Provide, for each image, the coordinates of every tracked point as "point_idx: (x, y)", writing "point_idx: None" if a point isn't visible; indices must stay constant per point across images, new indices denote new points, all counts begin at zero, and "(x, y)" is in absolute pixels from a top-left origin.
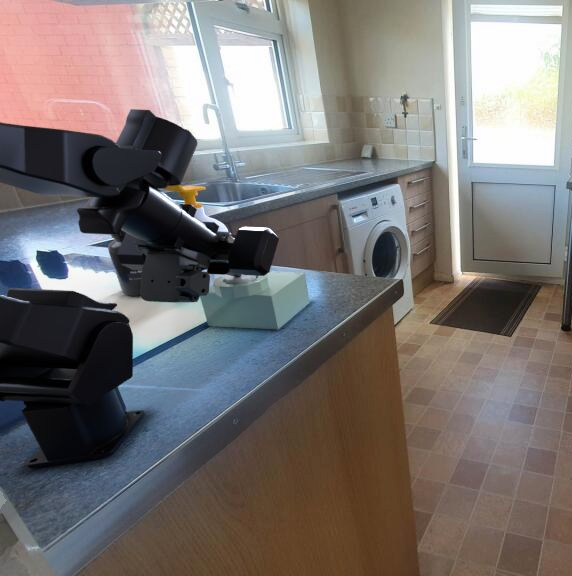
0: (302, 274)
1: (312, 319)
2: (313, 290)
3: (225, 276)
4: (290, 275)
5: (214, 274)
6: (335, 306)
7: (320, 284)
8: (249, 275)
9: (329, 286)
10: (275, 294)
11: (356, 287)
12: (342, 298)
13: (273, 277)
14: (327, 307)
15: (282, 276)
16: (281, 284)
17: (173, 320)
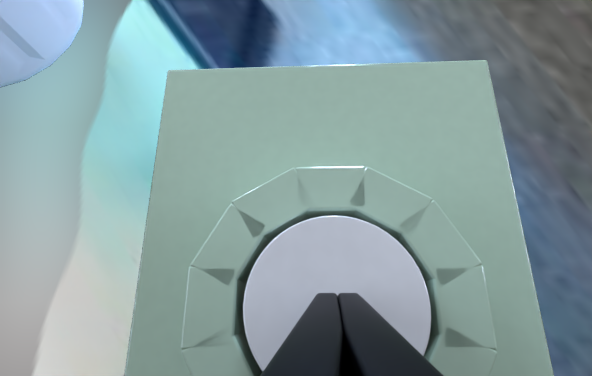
0: (490, 80)
1: (535, 265)
2: (384, 49)
3: (252, 343)
4: (445, 103)
5: (22, 34)
6: (545, 153)
7: (378, 5)
8: (400, 302)
9: (418, 14)
10: (545, 349)
11: (514, 9)
12: (525, 92)
13: (380, 138)
14: (522, 165)
15: (414, 119)
16: (487, 219)
17: (43, 329)
